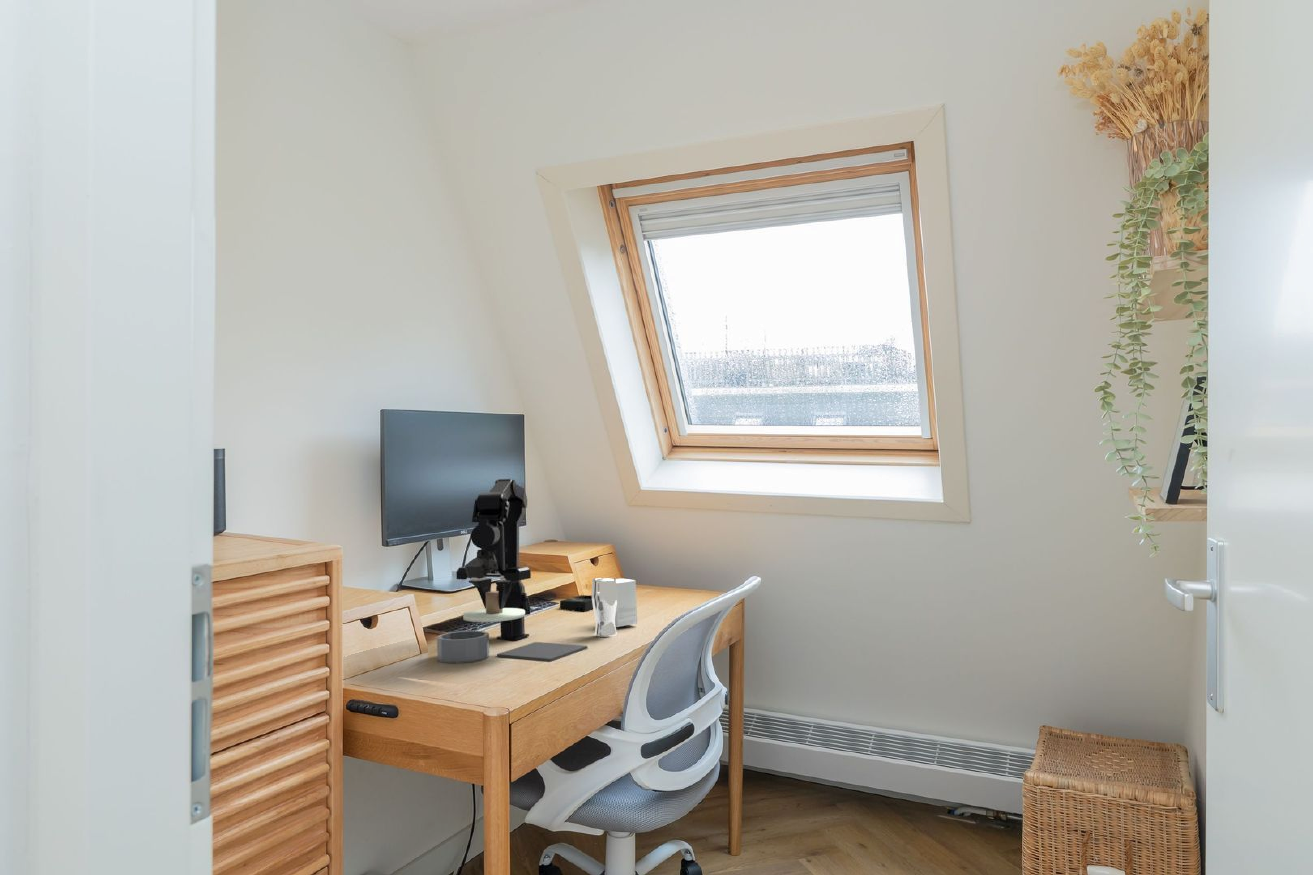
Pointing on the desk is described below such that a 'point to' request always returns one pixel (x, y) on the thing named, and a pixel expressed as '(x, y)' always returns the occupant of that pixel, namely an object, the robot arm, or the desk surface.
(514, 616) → the lid
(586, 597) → the battery charger
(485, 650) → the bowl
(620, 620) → the supplement box
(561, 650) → the mat
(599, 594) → the beer glass
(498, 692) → the desk surface
